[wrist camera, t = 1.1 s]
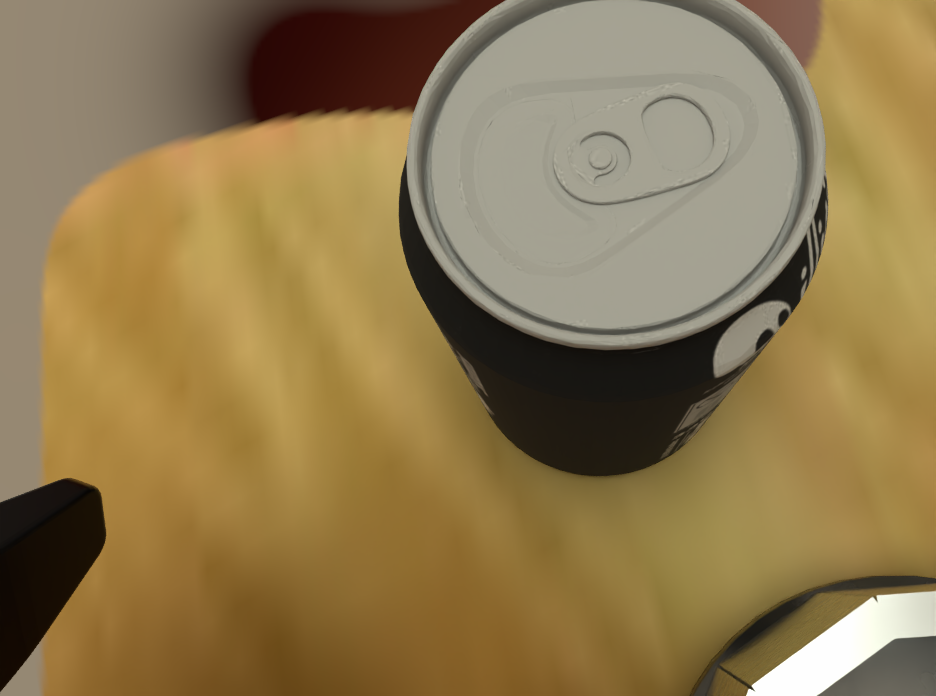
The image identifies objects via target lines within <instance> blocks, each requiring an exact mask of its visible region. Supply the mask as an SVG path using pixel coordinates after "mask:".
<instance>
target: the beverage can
mask: <svg viewBox="0 0 936 696" xmlns="http://www.w3.org/2000/svg"><path fill="white" fill-rule="evenodd" d="M825 149H826V144H825V134H824V126H823V121H822V116H821V113H820V109H819V105H818V102H817V98H816V95H815V93H814V90H813V88H812V86H811V83H810V81H809V79H808V76H807V74H806V73H805V71H804V69H803V68H802V66H801V65H800V63H799V62H798V60H797V58H796V57H795V55H794V54H793V52H792V51H791V50H790V48H789V47H788V46H787V45H786V44H785V43H784V41H783V40H782V39H781V38H780V37H779V36H778V34H777V33H776V32H775V31H774V30H773V29H772V28H771V27H770V26H769V25H768V24H766V23H765V22H764V21H763V20H762V19H761V18H760V17H758V15H756V14H755V13H753V12H752V11H750V10H749V9H748V8H746V7H745V6H743V5H742V4H740V3H739V2H738V1H736V0H506V1H504V2H502V3H501V4H499V5H497V6H496V7H494V8H492V9H491V10H490V11H488V12H487V13H486V14H484V15H483V16H482V17H480V18H479V19H478V20H477V21H475V22H474V23H473V24H472V25H471V26H470V27H469V28H468V29H467V30H466V31H465V32H464V33H463V34H462V35H461V36H460V37H459V38H458V39H457V40H456V41H455V42H454V43H453V44H452V45H451V46H450V48H449V49H448V50H447V51H446V52H445V54H444V55H443V57H442V58H441V59H440V61H439V62H438V63H437V65H436V67H435V68H434V70H433V72H432V73H431V75H430V77H429V79H428V80H427V82H426V84H425V86H424V88H423V90H422V92H421V95H420V98H419V100H418V103H417V106H416V108H415V111H414V113H413V117H412V122H411V128H410V134H409V140H408V146H407V156H406V160H405V164H404V168H403V172H402V176H401V184H400V196H399V226H400V236H401V241H402V246H403V251H404V255H405V258H406V262H407V265H408V268H409V271H410V274H411V276H412V278H413V281H414V283H415V285H416V288H417V290H418V291H419V293H420V295H421V297H422V299H423V301H424V302H425V304H426V306H427V308H428V309H429V311H430V313H431V315H432V316H433V318H434V320H435V322H436V323H437V325H438V327H439V328H440V330H441V332H442V334H443V335H444V337H445V339H446V341H447V342H448V344H449V346H450V348H451V349H452V351H453V353H454V354H455V356H456V358H457V360H458V361H459V363H460V365H461V367H462V368H463V370H464V372H465V373H466V375H467V377H468V379H469V380H470V382H471V384H472V386H473V387H474V389H475V391H476V393H477V394H478V396H479V398H480V399H481V401H482V403H483V405H484V406H485V408H486V410H487V412H488V413H489V415H490V417H491V418H492V420H493V421H494V422H495V424H496V425H497V427H498V428H499V429H500V430H501V432H502V433H503V434H504V435H505V436H506V437H507V438H508V439H509V440H510V441H511V442H512V443H513V444H515V445H516V446H517V447H518V448H519V449H521V450H522V451H523V452H525V453H526V454H528V455H529V456H531V457H533V458H534V459H536V460H538V461H540V462H542V463H544V464H546V465H548V466H551V467H554V468H556V469H559V470H562V471H566V472H570V473H575V474H581V475H589V476H609V475H619V474H625V473H629V472H634V471H637V470H640V469H643V468H646V467H649V466H651V465H653V464H656V463H658V462H659V461H661V460H663V459H665V458H667V457H668V456H670V455H672V454H673V453H674V452H676V451H677V450H679V449H680V448H681V447H682V446H684V445H685V444H686V443H687V442H688V441H689V440H690V439H691V438H692V437H693V436H694V435H695V434H696V433H697V432H698V430H699V429H700V428H701V427H702V425H703V424H704V423H705V422H706V420H707V419H708V418H709V417H710V415H711V414H712V413H713V412H714V410H715V409H716V408H717V407H718V405H719V404H720V403H721V402H722V400H723V399H724V398H725V397H726V395H727V394H728V393H729V392H730V390H731V389H732V388H733V386H734V385H735V384H736V383H737V381H738V380H739V379H740V378H741V376H742V375H743V374H744V373H745V371H746V370H747V369H748V368H749V366H750V365H751V364H752V363H753V361H754V360H755V359H756V358H757V356H758V355H759V354H760V353H761V351H762V350H763V349H764V348H765V346H766V345H767V344H768V343H769V341H770V340H771V339H772V337H773V336H774V335H775V334H776V332H777V331H778V330H779V329H780V327H781V326H782V325H783V324H784V322H785V321H786V320H787V319H788V317H789V316H790V315H791V313H792V312H793V310H794V309H795V307H796V306H797V305H798V303H799V302H800V300H801V298H802V297H803V295H804V293H805V291H806V289H807V287H808V285H809V283H810V281H811V279H812V277H813V274H814V272H815V270H816V267H817V264H818V261H819V258H820V255H821V252H822V248H823V244H824V239H825V234H826V228H827V218H828V189H827V177H826V171H825Z"/></svg>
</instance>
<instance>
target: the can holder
mask: <svg viewBox="0 0 936 696" xmlns="http://www.w3.org/2000/svg"><path fill="white" fill-rule="evenodd" d="M690 696H936V579H935V578H927V577H918V576H869V577H862V578H855V579H848V580H841V581H837V582H833V583H830V584H826V585H823V586H819V587H816V588H812V589H809V590H807V591H804V592H802V593H800V594H798V595H795V596H793V597H791V598H789V599H786V600H784V601H782V602H780V603H778V604H777V605H775V606H774V607H772V608H770V609H769V610H767V611H766V612H764V613H762V614H761V615H759V616H758V617H756V618H755V619H753V620H752V621H751V622H750V623H749V624H747V625H746V626H745V627H744V628H743V629H742V630H740V631H739V632H738V633H737V634H736V635H734V636H733V637H732V638H731V639H730V640H729V641H728V643H727V644H726V645H725V646H724V647H723V648H722V649H721V650H720V651H719V653H718V654H717V655H716V656H715V657H714V658H713V659H712V660H711V662H710V663H709V665H708V666H707V668H706V669H705V671H704V672H703V674H702V675H701V677H700V678H699V680H698V681H697V683H696V684H695V686H694V688H693V690H692V692H691V694H690Z"/></svg>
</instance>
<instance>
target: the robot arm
mask: <svg viewBox="0 0 936 696" xmlns="http://www.w3.org/2000/svg"><path fill="white" fill-rule="evenodd" d="M105 539H106V528H105V520H104V512H103V504H102V497H101V493H100V491H99V490H98V488H96V487H95V486H93V485H90V484H87V483H84V482H82V481H79V480H76V479H72V478H65V479H61V480H58V481H55V482H53V483H50V484H47V485H45V486H42V487H40V488H37V489H34V490H32V491H29V492H26V493H24V494H21V495H18V496H16V497H13V498H11V499H8V500H5V501H3V502H0V692H1V690H2V689H3V688H4V687H5V686H6V684H7V683H8V682H9V681H10V680H11V679H12V677H13V676H14V675H15V674H16V672H17V671H18V670H19V669H20V667H21V666H22V665H23V664H24V662H25V661H26V660H27V659H28V657H29V656H30V655H31V653H32V652H33V651H34V649H35V648H36V646H37V645H38V644H39V642H40V641H41V639H42V638H43V637H44V635H45V634H46V632H47V631H48V629H49V628H50V626H51V625H52V623H53V622H54V620H55V619H56V617H57V616H58V615H59V613H60V612H61V610H62V609H63V607H64V606H65V604H66V603H67V601H68V600H69V598H70V597H71V595H72V594H73V593H74V591H75V590H76V588H77V587H78V585H79V584H80V582H81V581H82V579H83V578H84V576H85V575H86V573H87V572H88V571H89V569H90V568H91V566H92V565H93V563H94V562H95V560H96V559H97V557H98V556H99V554H100V553H101V551H102V549H103V546H104V543H105Z"/></svg>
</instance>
